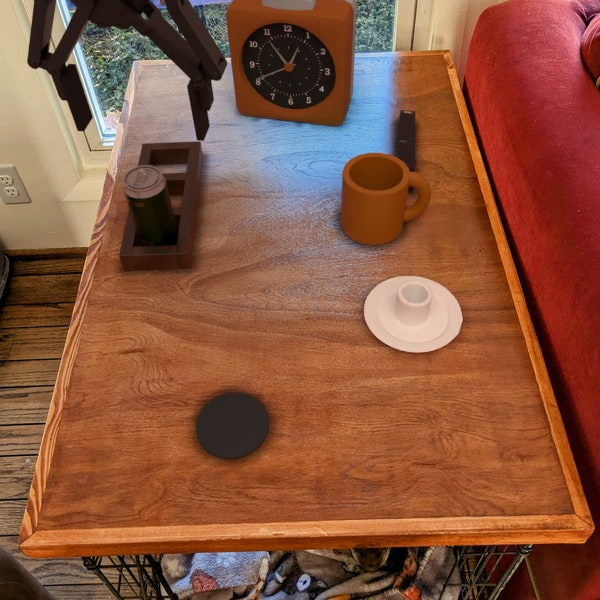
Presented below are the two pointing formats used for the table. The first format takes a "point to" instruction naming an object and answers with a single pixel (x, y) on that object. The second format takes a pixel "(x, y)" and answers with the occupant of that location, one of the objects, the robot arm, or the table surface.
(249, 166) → the table surface
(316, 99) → the alarm clock
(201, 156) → the can rack
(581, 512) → the table surface
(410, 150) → the black long bar
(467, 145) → the table surface
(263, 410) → the coaster
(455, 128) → the table surface
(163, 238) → the beer can
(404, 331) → the candle holder
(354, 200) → the mug
